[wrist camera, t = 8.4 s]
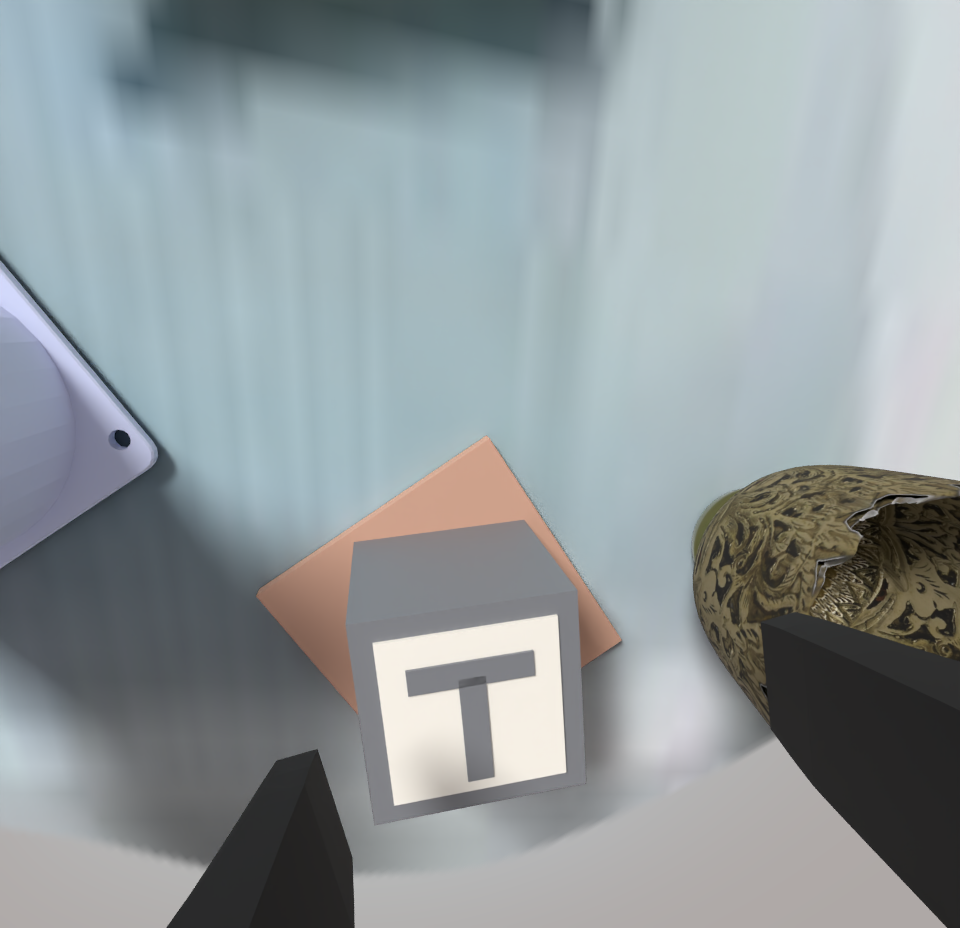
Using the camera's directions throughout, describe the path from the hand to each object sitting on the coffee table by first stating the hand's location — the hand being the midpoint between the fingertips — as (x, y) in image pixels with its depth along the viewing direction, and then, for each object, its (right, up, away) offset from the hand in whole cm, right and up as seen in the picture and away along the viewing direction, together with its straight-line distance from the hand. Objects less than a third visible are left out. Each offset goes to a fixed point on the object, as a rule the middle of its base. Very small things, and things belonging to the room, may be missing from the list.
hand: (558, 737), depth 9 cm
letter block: (-2, 0, +9) cm, 9 cm away
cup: (+7, +2, +11) cm, 13 cm away
